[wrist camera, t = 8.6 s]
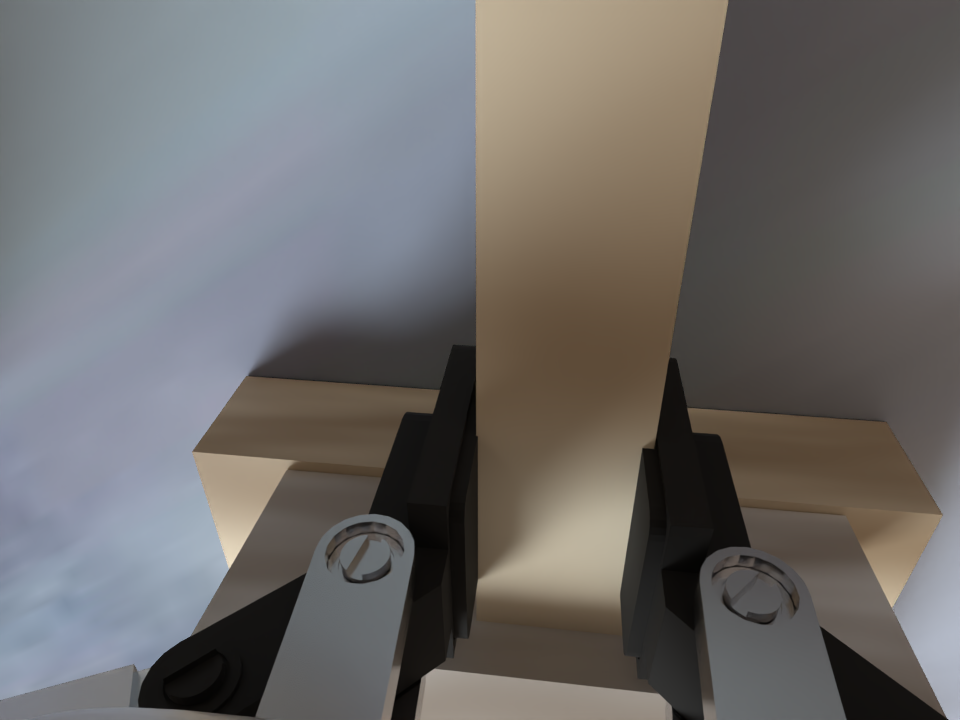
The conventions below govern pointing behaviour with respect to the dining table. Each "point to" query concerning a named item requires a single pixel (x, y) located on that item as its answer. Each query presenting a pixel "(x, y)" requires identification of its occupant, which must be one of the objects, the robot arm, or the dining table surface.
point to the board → (745, 435)
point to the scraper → (575, 369)
